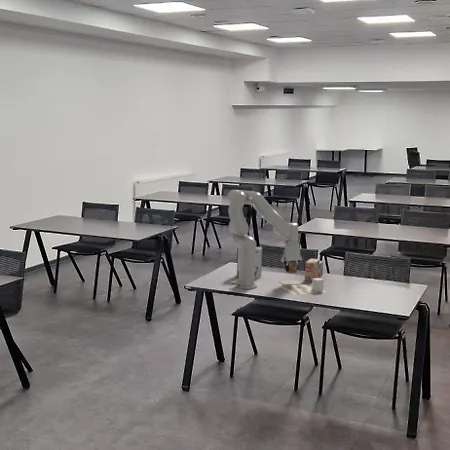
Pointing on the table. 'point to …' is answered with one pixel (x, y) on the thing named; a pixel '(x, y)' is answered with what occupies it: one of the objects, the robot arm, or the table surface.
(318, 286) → the pale grey block
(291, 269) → the walnut block
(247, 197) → the robot arm
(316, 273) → the stack of blocks
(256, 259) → the hard drive box
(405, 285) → the table surface
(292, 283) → the mat
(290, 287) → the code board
